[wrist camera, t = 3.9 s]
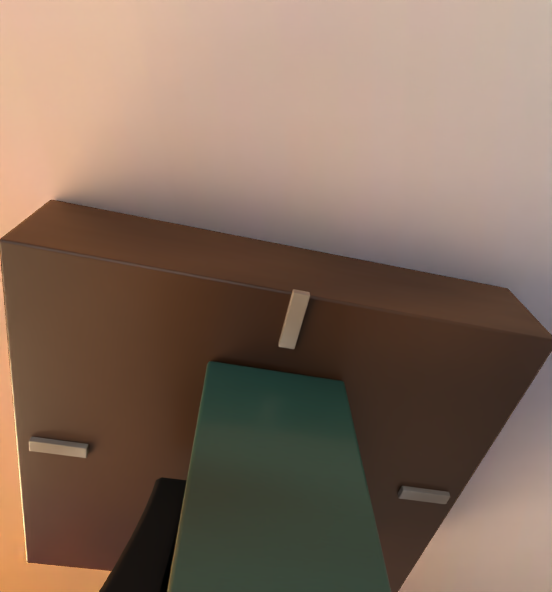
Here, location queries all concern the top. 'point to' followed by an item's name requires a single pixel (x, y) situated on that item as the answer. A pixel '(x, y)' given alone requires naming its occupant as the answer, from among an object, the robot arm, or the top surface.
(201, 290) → the stand
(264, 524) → the tin
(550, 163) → the top surface
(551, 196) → the top surface
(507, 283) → the top surface
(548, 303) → the top surface
